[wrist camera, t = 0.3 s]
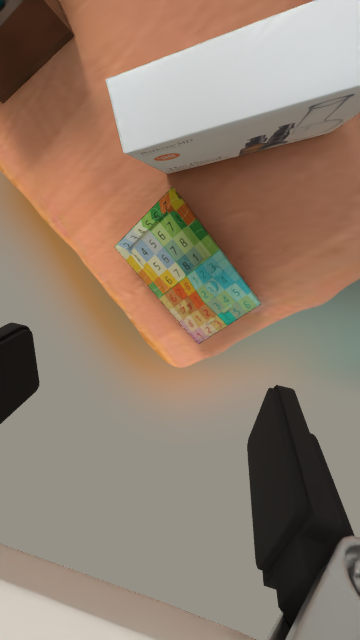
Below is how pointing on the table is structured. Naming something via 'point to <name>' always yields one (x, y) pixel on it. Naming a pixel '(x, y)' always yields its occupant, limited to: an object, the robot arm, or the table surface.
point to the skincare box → (243, 89)
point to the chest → (29, 39)
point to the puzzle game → (186, 268)
